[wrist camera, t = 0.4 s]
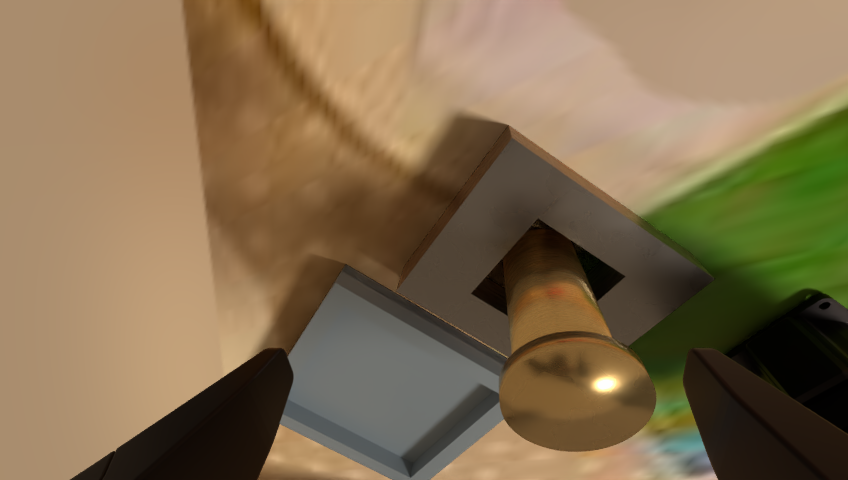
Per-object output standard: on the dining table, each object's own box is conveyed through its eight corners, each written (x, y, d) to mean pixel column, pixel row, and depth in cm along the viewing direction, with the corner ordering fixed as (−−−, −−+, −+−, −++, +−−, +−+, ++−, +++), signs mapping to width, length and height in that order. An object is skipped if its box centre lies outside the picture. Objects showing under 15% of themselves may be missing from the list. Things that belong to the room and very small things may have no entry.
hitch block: (690, 252, 21) (715, 278, 19) (561, 360, 26) (568, 392, 23) (508, 125, 19) (512, 138, 17) (404, 266, 24) (396, 290, 22)
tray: (528, 371, 26) (532, 395, 25) (419, 466, 33) (415, 491, 31) (345, 264, 24) (335, 282, 22) (266, 388, 31) (253, 410, 29)
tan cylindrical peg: (608, 251, 22) (691, 398, 13) (544, 311, 24) (580, 469, 15) (532, 200, 21) (568, 321, 12) (474, 268, 23) (470, 409, 15)
